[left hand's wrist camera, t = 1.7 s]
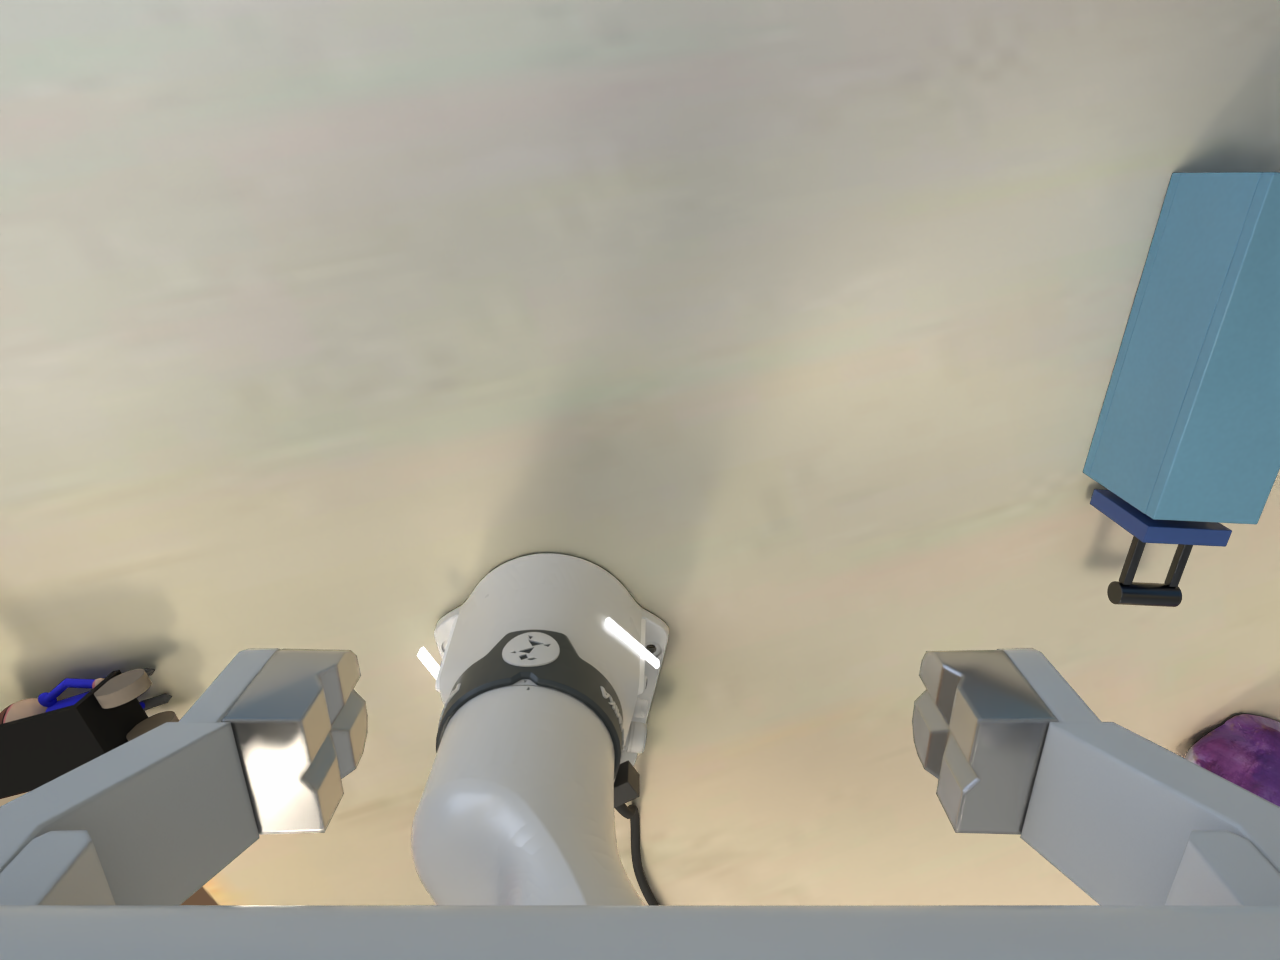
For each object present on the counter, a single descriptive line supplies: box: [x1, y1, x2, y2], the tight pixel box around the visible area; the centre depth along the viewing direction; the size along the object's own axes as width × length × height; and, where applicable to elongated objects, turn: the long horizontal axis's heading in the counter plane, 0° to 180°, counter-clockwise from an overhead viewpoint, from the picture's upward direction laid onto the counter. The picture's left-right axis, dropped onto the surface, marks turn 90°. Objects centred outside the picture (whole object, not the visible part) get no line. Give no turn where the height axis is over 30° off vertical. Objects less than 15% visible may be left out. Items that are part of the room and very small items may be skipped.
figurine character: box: [0, 668, 179, 799], centre depth 60 cm, size 7×8×15 cm
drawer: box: [1090, 489, 1232, 607], centre depth 50 cm, size 25×6×6 cm, turn 177°
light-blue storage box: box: [1083, 172, 1280, 524], centre depth 47 cm, size 21×7×8 cm, turn 177°
